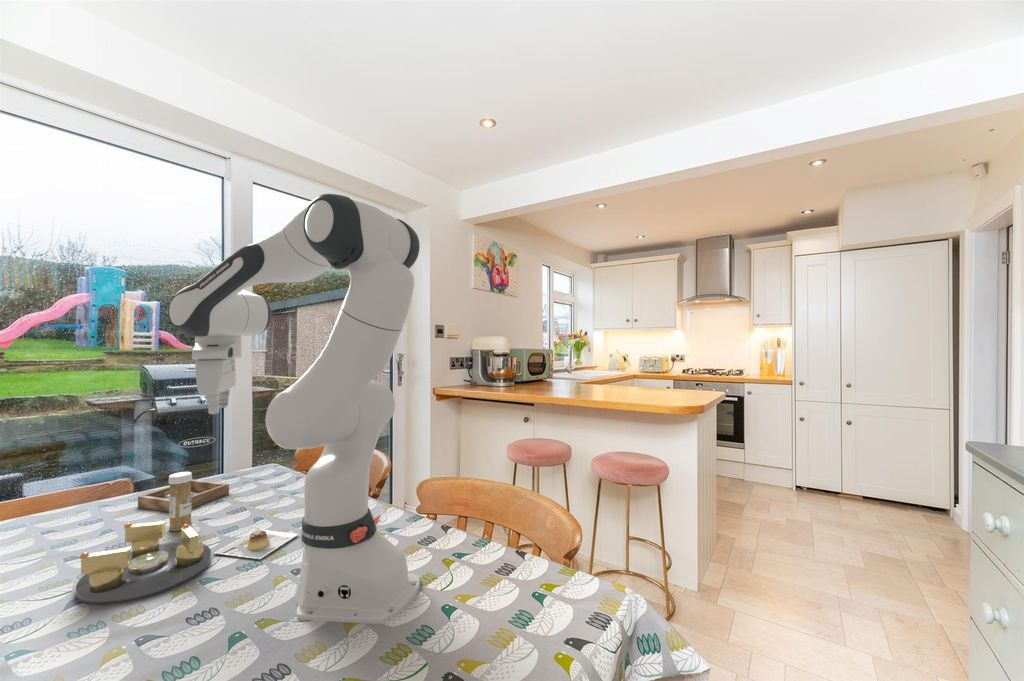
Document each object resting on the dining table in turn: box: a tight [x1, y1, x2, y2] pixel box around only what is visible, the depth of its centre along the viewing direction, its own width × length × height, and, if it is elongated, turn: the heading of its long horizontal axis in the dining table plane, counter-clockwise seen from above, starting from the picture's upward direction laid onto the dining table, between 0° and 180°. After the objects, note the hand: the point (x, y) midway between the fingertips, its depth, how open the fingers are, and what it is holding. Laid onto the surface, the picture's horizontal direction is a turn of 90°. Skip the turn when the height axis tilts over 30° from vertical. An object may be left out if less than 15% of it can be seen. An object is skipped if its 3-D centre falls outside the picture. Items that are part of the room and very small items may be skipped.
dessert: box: [213, 526, 300, 560], centre depth 96 cm, size 12×12×5 cm
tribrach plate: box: [75, 541, 212, 606], centre depth 84 cm, size 20×20×4 cm
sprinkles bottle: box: [168, 471, 193, 532], centre depth 105 cm, size 5×5×14 cm
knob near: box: [176, 524, 204, 567], centre depth 85 cm, size 7×4×7 cm, turn 50°
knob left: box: [79, 546, 132, 593], centre depth 77 cm, size 7×4×7 cm, turn 115°
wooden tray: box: [137, 479, 230, 513], centre depth 123 cm, size 15×15×3 cm
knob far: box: [124, 520, 166, 558], centre depth 88 cm, size 7×4×7 cm, turn 106°
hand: (218, 410), depth 97 cm, fingers open, 8 cm apart
